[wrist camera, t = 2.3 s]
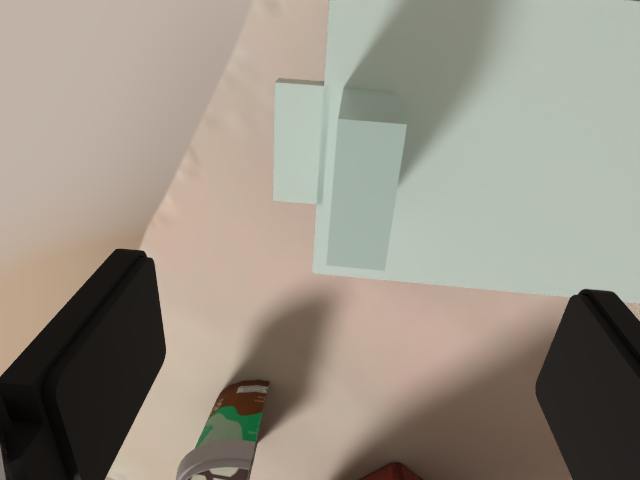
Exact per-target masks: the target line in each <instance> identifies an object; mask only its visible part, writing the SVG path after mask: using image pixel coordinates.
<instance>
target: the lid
mask: <svg viewBox="0 0 640 480" xmlns="http://www.w3.org/2000/svg"><path fill="white" fill-rule="evenodd" d="M273 201H284V202H296V203H307V204H317V205H316V221H315V237H314V253H313V269H312V273H316V274H327V275H337V276H348V277H359V278H370V279H380V280H391V281H402V282H412V283H423V284H434V285H444V286H455V287H466V288H477V289H487V290H498V291H509V292H519V293H530V294H541V295H552V296H562V297H572V296H573V295H578V293H579V292H580V291H581V290H583V289H593V290H605V291H612V292H614V293H615V294H617V296H618V297H619V298H620V299H621V300H622V301H623V302H626V303H637V304H640V1H630V0H329V16H328V32H327V48H326V63H325V79H324V82H322V81H310V80H297V79H284V78H279V79H278V80H277V81H276V82H275V110H274V182H273Z"/></svg>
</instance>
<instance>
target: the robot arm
mask: <svg viewBox="0 0 640 480" xmlns="http://www.w3.org/2000/svg"><path fill="white" fill-rule="evenodd" d="M165 354H166V345H165V337H164V330H163V323H162V315H161V308H160V301H159V293H158V286H157V279H156V271H155V264H154V261H153V259H152V258H148V257H147V255H146V253H145V252H144V251H141V250H129V249H116V250H115V251H114V252H113V253H112V254H111V255H110V256H109V257H108V258H107V259H106V260H105V262H104V263H103V264H102V265H101V266H100V267H99V268H98V269H97V270H96V271H95V273H94V274H93V275H92V276H91V277H90V278H89V279H88V280H87V281H86V283H85V284H84V285H83V286H82V287H81V288H80V289H79V290H78V291H77V293H76V294H75V295H74V296H73V297H72V298H71V299H70V300H69V302H67V304H66V305H65V306H64V307H63V308H62V309H61V310H60V311H59V312H58V314H57V315H56V316H55V317H54V318H53V319H52V320H51V321H50V322H49V323H48V325H47V326H46V327H45V328H44V329H43V330H42V331H41V332H40V333H39V335H38V336H37V337H36V338H35V339H34V340H33V341H32V342H31V343H30V345H29V346H28V347H27V348H26V349H25V350H24V351H23V352H22V353H21V355H20V356H19V357H18V358H17V359H16V360H15V361H14V362H13V363H12V364H11V366H10V367H9V368H8V369H7V370H6V371H5V372H4V373H3V374H2V375H1V377H0V480H105V478H106V476H107V474H108V472H109V470H110V468H111V466H112V464H113V462H114V460H115V458H116V456H117V454H118V452H119V450H120V448H121V446H122V444H123V442H124V440H125V438H126V436H127V434H128V432H129V430H130V428H131V426H132V424H133V422H134V420H135V418H136V416H137V414H138V412H139V410H140V408H141V406H142V404H143V402H144V400H145V398H146V396H147V394H148V392H149V390H150V388H151V386H152V384H153V383H154V381H155V379H156V377H157V375H158V373H159V371H160V369H161V367H162V365H163V362H164V359H165ZM535 389H536V396H537V399H538V402H539V404H540V406H541V408H542V411H543V413H544V415H545V417H546V420H547V422H548V424H549V426H550V429H551V431H552V433H553V435H554V438H555V440H556V442H557V445H558V447H559V449H560V451H561V454H562V456H563V458H564V460H565V463H566V465H567V467H568V469H569V472H570V474H571V476H572V478H573V480H640V321H639V320H638V319H637V318H636V317H635V316H634V314H633V313H632V312H631V311H630V310H629V308H628V307H627V306H626V305H625V304H624V303H623V301H622V300H621V299H620V298H619V297H618V296H617V294H615V293H614V292H612V291H605V290H593V289H583V290H581V291H580V292H579V293H578V295H573V296H572V297H571V298H570V300H569V302H568V304H567V307H566V309H565V312H564V314H563V317H562V319H561V322H560V324H559V327H558V329H557V332H556V334H555V337H554V339H553V342H552V344H551V347H550V349H549V351H548V354H547V356H546V359H545V361H544V364H543V366H542V369H541V371H540V374H539V376H538V379H537V382H536V387H535Z"/></svg>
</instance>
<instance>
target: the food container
mask: <svg viewBox="0 0 640 480" xmlns="http://www.w3.org/2000/svg"><path fill="white" fill-rule="evenodd" d="M269 384H270V381H262V380H250V381H242V382H239V383H236V384H233V385H230V386H229V387H227V388H226V389H225V390H224V391H222V392H221V393H220V395H219V397H218V398H217V400H216V402H215V405H214V407H213V409H212V411H211V414H210V416H209V418H208V420H207V422H206V425H205V427H204V429H203V431H202V434H201V436H200V438H199V440H198V442H197V445H196V447H195V449H194V450H192V451H191V452H190V453H188V454H187V455H186V456H185V457H184V458H183V460H182V461H181V463H180V465H179V467H178V471H177V476H176V480H249V479H250V474H251V470H252V465H253V461H254V456H255V452H256V448H257V443H258V438H259V433H260V428H261V423H262V418H263V413H264V409H265V404H266V399H267V394H268V389H269Z"/></svg>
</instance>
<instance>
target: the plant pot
mask: <svg viewBox="0 0 640 480" xmlns="http://www.w3.org/2000/svg"><path fill="white" fill-rule="evenodd" d="M362 480H422V479H420V478H419V477H418V476H416V475H415V474H414V473H413V472H411V471H410V470H409V469H407V468H406V467H405V466H403V465H401V464H390V465H388V466H386V467H384V468H383V469H381V470H379V471H377V472H375V473H373V474H371V475H369V476H368V477H366V478H364V479H362Z"/></svg>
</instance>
